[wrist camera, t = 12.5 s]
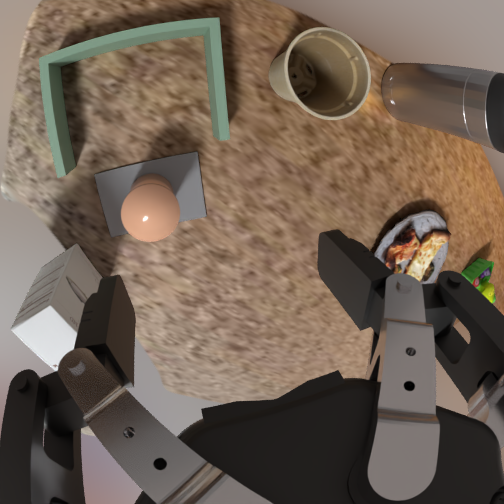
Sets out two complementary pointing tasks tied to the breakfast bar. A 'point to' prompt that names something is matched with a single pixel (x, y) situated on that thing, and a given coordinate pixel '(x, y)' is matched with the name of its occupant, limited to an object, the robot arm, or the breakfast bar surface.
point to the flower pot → (323, 73)
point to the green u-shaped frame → (119, 40)
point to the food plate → (416, 246)
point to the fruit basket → (481, 277)
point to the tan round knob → (150, 208)
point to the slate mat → (172, 168)
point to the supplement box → (56, 305)
